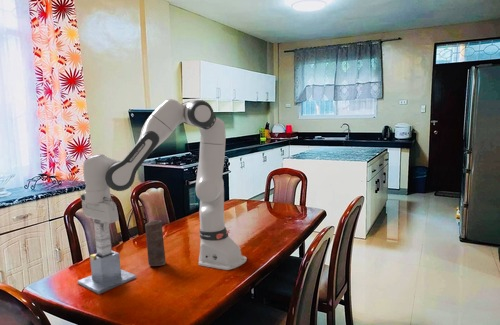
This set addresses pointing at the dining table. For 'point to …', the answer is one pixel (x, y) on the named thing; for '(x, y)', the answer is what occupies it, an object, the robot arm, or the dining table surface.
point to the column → (102, 240)
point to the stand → (105, 273)
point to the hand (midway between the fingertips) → (102, 230)
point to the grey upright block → (155, 243)
